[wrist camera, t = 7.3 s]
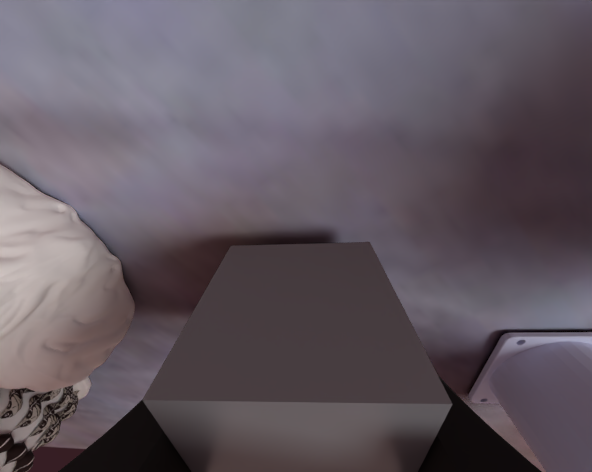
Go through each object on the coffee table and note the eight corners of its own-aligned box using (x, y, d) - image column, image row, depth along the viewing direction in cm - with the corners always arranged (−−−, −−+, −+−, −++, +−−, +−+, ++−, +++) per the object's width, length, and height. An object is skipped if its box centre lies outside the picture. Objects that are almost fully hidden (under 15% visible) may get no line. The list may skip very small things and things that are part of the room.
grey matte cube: (369, 241, 10) (452, 404, 5) (358, 337, 13) (399, 507, 8) (230, 245, 11) (142, 400, 5) (250, 337, 14) (210, 499, 8)
